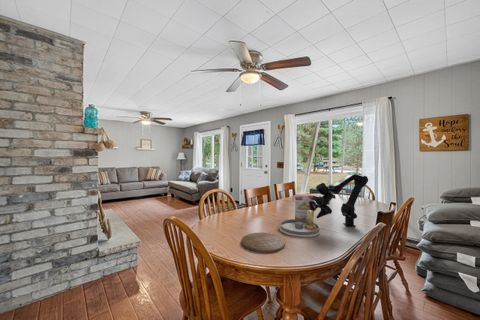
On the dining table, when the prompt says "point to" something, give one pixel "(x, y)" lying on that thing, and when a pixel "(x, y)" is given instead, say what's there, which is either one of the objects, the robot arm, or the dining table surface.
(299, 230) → the round grey tray
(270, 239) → the trivet
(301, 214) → the cracker box
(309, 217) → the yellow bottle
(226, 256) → the dining table surface
